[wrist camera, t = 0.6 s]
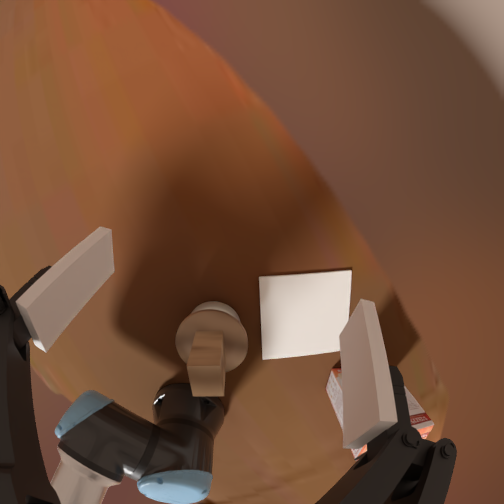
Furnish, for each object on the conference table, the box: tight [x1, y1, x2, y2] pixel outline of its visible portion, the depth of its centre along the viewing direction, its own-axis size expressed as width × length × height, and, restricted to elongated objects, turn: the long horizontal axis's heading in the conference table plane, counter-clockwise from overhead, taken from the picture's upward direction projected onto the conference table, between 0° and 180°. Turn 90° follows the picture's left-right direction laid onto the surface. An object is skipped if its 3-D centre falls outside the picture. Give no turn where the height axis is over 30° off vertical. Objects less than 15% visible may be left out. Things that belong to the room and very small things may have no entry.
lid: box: [175, 309, 248, 396], centre depth 36 cm, size 11×11×10 cm
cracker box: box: [326, 368, 434, 461], centre depth 42 cm, size 14×6×21 cm, turn 83°
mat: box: [259, 270, 352, 360], centre depth 48 cm, size 16×16×1 cm
